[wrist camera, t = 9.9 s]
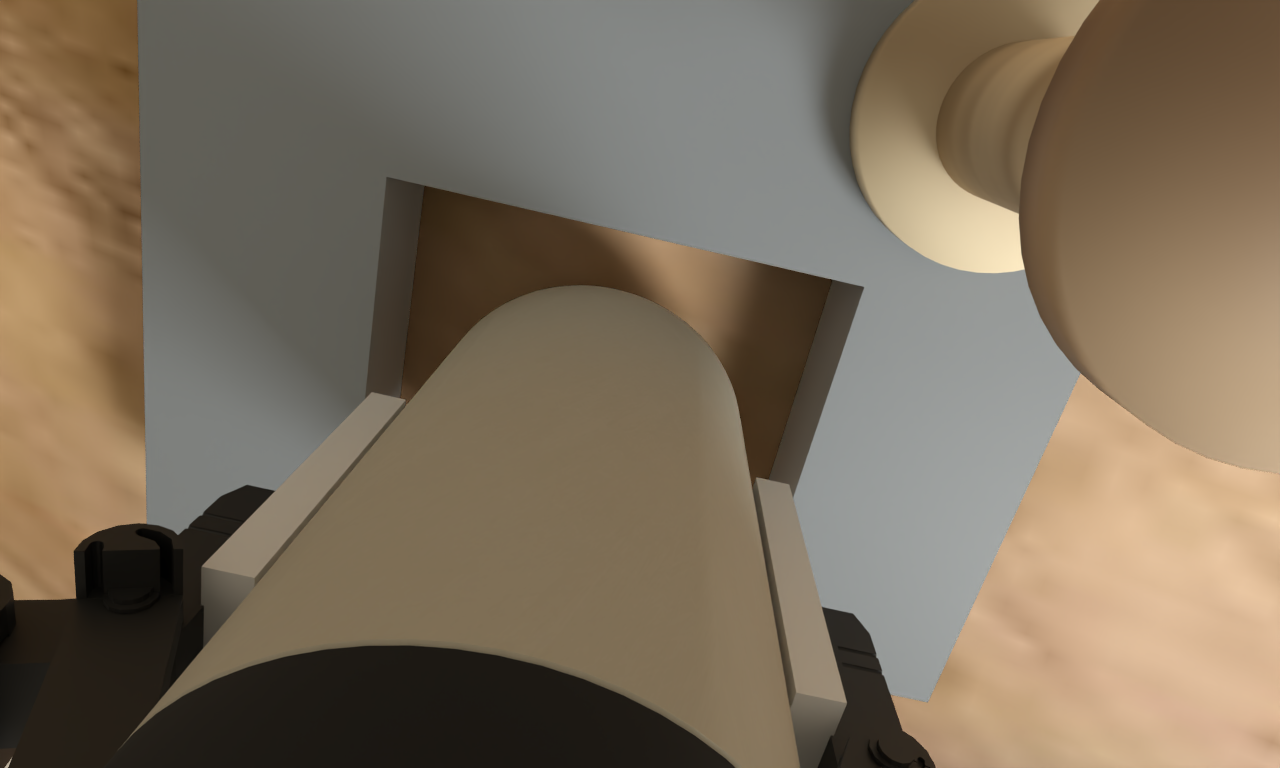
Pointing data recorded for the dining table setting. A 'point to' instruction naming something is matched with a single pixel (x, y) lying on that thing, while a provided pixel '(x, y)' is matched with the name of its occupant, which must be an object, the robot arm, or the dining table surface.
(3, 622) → the robot arm
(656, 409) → the travel mug
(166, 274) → the notched board
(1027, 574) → the dining table surface
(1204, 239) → the birch bobbin
